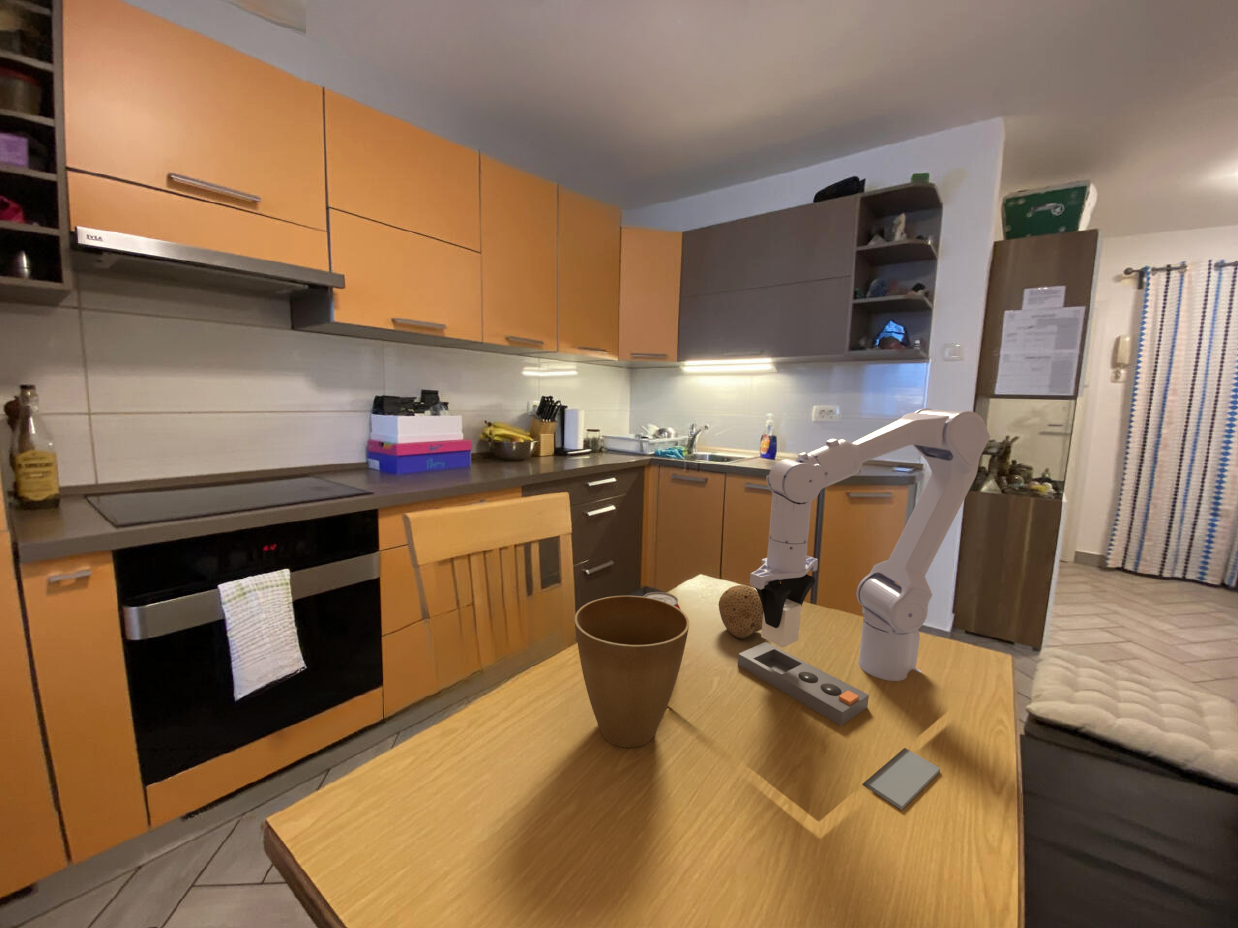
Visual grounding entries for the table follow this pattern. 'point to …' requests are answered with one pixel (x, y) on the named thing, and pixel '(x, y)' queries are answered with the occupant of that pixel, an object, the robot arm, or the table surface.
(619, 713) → the plant pot
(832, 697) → the power strip
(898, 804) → the mat
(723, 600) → the natural sponge
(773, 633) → the block
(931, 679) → the table surface
